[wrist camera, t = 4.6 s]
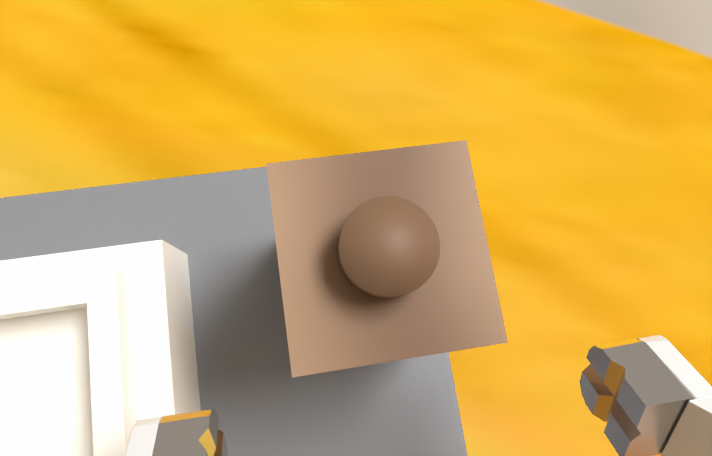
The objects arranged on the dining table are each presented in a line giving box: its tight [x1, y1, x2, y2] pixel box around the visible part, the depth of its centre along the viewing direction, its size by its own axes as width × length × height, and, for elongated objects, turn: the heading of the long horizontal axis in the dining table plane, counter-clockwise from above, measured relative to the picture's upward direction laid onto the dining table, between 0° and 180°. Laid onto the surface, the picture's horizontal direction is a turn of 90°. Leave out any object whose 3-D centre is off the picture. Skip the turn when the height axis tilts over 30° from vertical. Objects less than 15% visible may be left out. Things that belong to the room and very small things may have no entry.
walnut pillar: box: [266, 140, 508, 378], centre depth 14 cm, size 4×4×9 cm
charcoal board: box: [0, 167, 467, 456], centre depth 17 cm, size 20×16×1 cm
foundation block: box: [0, 240, 201, 456], centre depth 14 cm, size 10×10×4 cm
